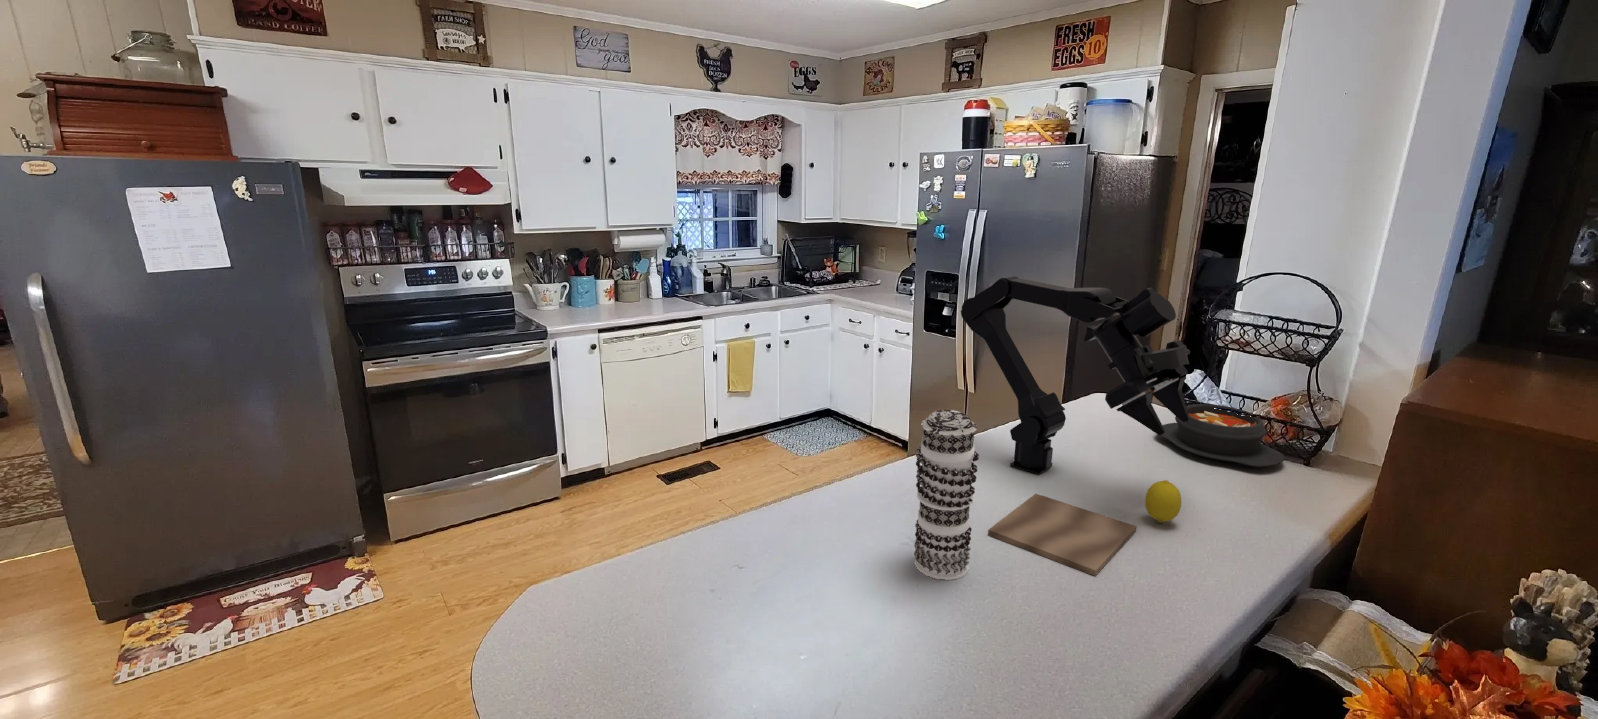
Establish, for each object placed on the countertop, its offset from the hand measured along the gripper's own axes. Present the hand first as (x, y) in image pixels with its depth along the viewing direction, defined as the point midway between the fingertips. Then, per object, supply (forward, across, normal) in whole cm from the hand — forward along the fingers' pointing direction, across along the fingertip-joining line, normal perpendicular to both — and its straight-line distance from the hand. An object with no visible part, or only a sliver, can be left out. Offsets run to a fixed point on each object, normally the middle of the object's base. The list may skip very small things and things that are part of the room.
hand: (1174, 427), depth 118 cm
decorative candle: (+3, -43, +22) cm, 48 cm away
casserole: (+9, +37, +16) cm, 41 cm away
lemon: (+13, -3, +10) cm, 17 cm away
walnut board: (+7, -20, +17) cm, 27 cm away
